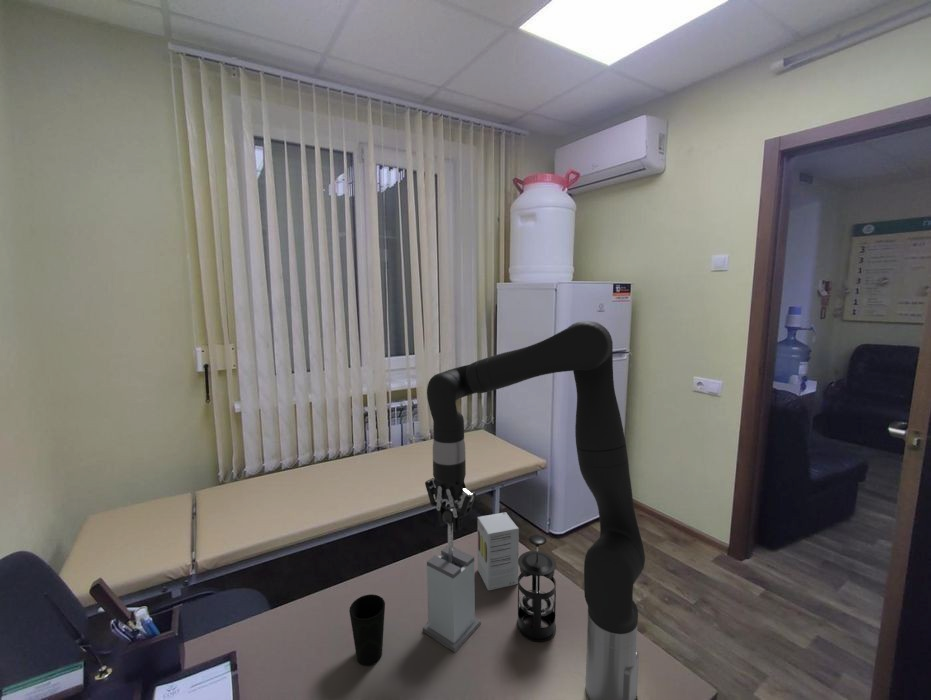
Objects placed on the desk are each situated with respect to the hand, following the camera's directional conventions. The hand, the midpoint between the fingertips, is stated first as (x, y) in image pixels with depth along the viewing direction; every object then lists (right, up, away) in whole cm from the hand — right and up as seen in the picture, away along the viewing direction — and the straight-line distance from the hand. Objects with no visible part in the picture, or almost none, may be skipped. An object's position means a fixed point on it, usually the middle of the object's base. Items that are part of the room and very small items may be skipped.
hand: (450, 526), depth 96 cm
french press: (+21, -26, +4) cm, 33 cm away
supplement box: (+13, -24, +21) cm, 34 cm away
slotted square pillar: (0, -26, +3) cm, 26 cm away
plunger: (0, -12, +2) cm, 12 cm away
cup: (-18, -27, -4) cm, 33 cm away
